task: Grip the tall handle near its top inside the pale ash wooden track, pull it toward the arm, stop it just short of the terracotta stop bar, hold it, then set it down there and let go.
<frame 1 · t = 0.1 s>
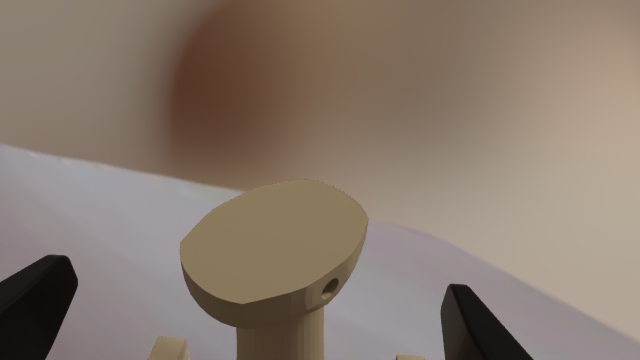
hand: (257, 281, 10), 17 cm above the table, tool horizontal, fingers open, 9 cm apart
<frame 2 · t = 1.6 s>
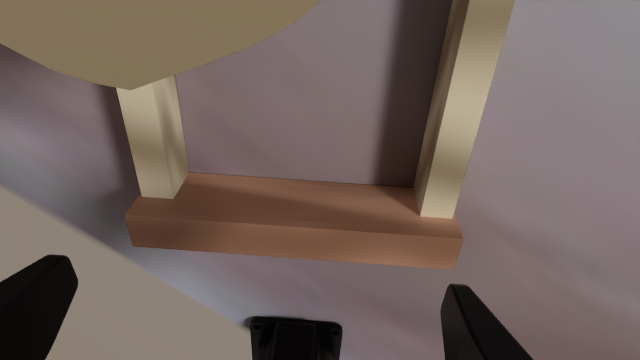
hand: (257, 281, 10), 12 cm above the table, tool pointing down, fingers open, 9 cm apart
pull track: (304, 30, 18), on the table
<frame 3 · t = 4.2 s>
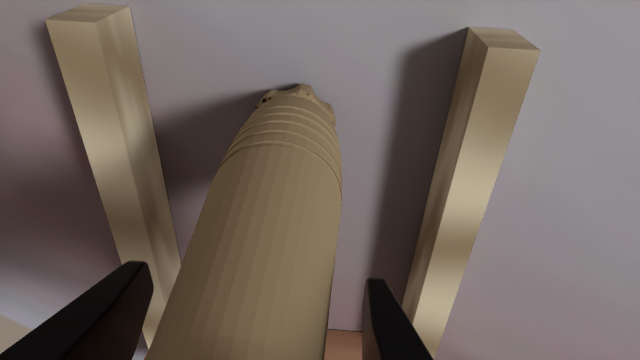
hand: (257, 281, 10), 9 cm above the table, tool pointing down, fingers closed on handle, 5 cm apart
handle: (296, 114, 17), on the table, touching gripper
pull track: (294, 226, 21), on the table
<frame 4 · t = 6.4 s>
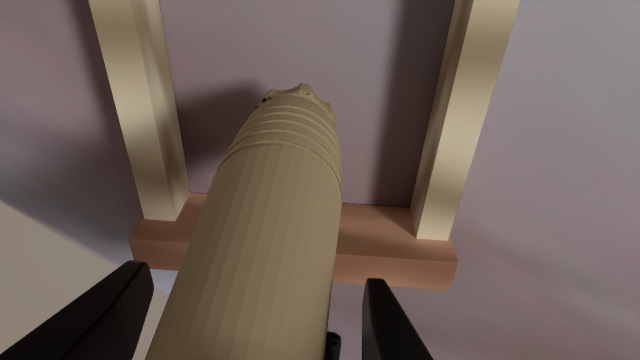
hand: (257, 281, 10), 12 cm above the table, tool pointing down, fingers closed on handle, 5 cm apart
handle: (296, 114, 17), point 3 cm above the table, touching gripper
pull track: (302, 59, 19), on the table
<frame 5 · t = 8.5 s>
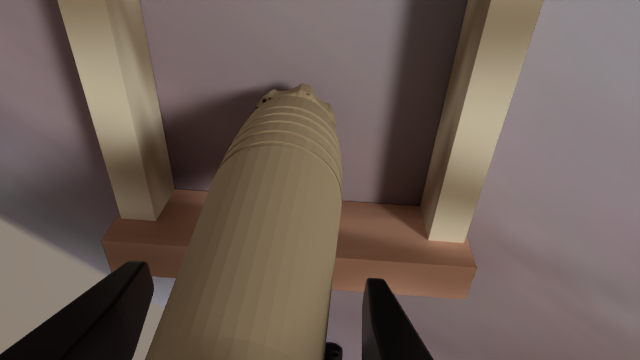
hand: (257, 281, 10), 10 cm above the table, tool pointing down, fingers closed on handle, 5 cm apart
handle: (296, 114, 17), point 1 cm above the table, touching gripper
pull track: (299, 35, 16), on the table
when the fingers open (10 cm above the table, at t = 9.1 s): handle stays where it is, on the table.
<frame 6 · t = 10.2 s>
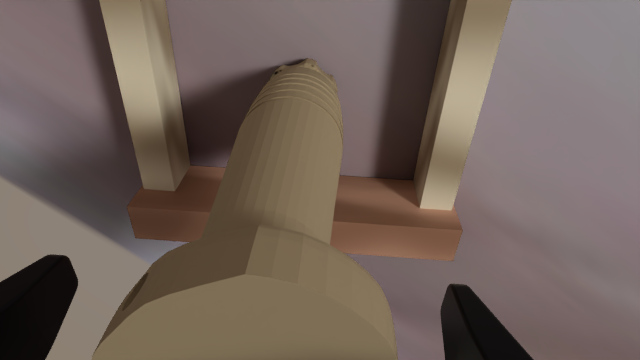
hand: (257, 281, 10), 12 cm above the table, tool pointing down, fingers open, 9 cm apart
handle: (304, 87, 20), on the table
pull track: (304, 22, 18), on the table
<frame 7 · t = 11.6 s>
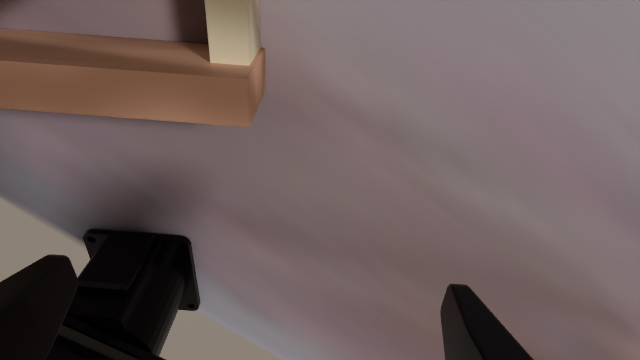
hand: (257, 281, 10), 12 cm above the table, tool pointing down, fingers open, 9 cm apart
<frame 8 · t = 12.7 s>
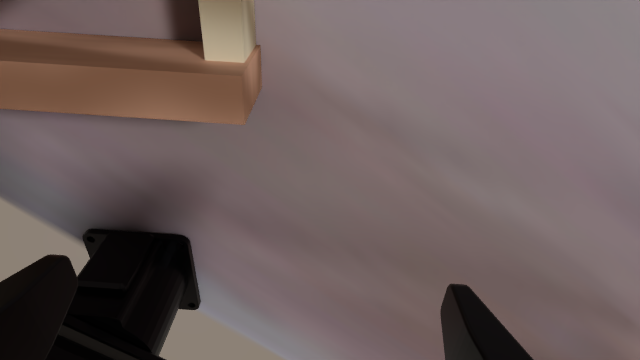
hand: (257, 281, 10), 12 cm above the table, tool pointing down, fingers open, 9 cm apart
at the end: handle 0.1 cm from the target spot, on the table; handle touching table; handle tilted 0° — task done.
